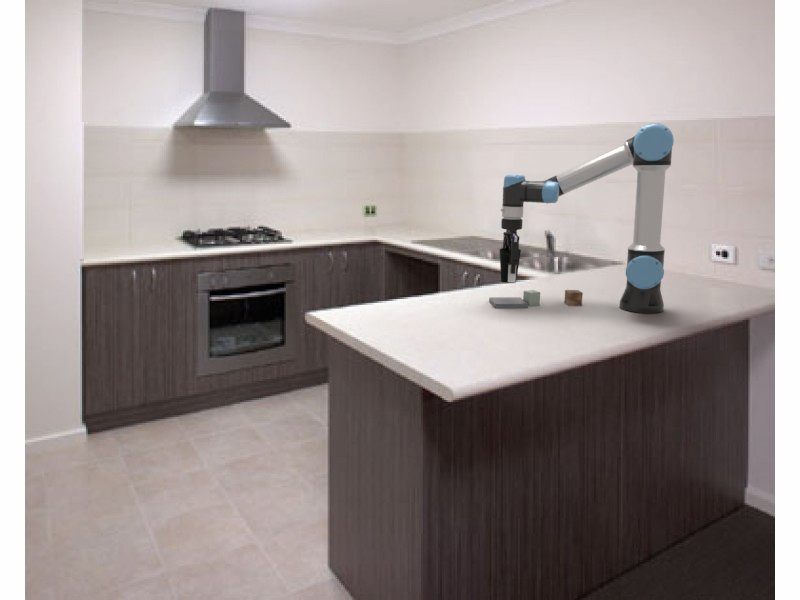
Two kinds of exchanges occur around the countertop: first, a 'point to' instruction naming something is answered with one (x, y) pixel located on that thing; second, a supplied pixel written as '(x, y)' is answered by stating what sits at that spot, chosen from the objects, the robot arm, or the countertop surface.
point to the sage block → (532, 297)
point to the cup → (506, 265)
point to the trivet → (508, 302)
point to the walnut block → (573, 297)
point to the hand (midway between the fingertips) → (508, 279)
